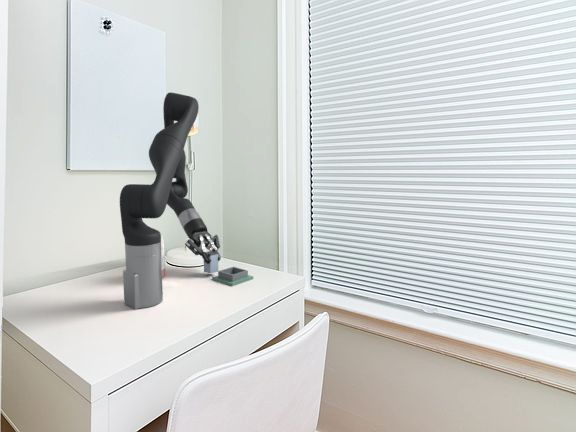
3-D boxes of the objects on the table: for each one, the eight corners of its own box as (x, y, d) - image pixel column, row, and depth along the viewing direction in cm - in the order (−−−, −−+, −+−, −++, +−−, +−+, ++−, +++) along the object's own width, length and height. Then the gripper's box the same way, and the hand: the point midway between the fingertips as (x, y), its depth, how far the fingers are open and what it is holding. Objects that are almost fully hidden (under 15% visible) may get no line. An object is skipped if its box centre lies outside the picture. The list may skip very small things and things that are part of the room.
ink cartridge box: (151, 275, 118) (150, 234, 116) (165, 275, 117) (164, 235, 116) (140, 283, 109) (138, 239, 107) (155, 284, 109) (154, 240, 107)
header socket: (232, 286, 109) (232, 277, 108) (212, 279, 115) (212, 271, 114) (253, 278, 116) (253, 270, 116) (233, 272, 122) (233, 265, 122)
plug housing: (210, 273, 116) (210, 254, 116) (203, 271, 119) (203, 252, 118) (218, 271, 119) (218, 252, 118) (211, 269, 121) (211, 250, 121)
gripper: (180, 219, 116) (203, 259, 110) (212, 215, 127) (234, 251, 121) (171, 232, 119) (193, 271, 114) (203, 227, 131) (224, 263, 125)
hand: (214, 261), depth 117 cm, fingers closed on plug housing, 3 cm apart
